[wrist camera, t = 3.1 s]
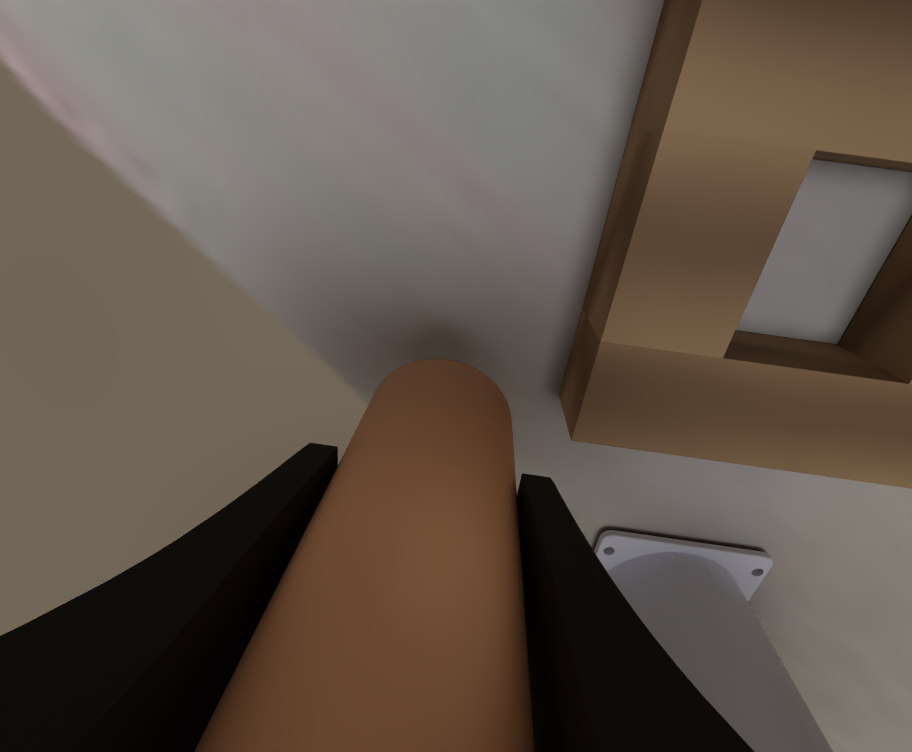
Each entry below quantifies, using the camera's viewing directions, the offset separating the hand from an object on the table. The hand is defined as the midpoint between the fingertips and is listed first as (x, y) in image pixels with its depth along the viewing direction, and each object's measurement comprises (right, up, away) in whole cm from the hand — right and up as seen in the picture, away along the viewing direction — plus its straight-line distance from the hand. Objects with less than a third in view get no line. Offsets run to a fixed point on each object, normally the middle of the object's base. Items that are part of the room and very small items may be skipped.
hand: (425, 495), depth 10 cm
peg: (0, +1, +2) cm, 3 cm away
